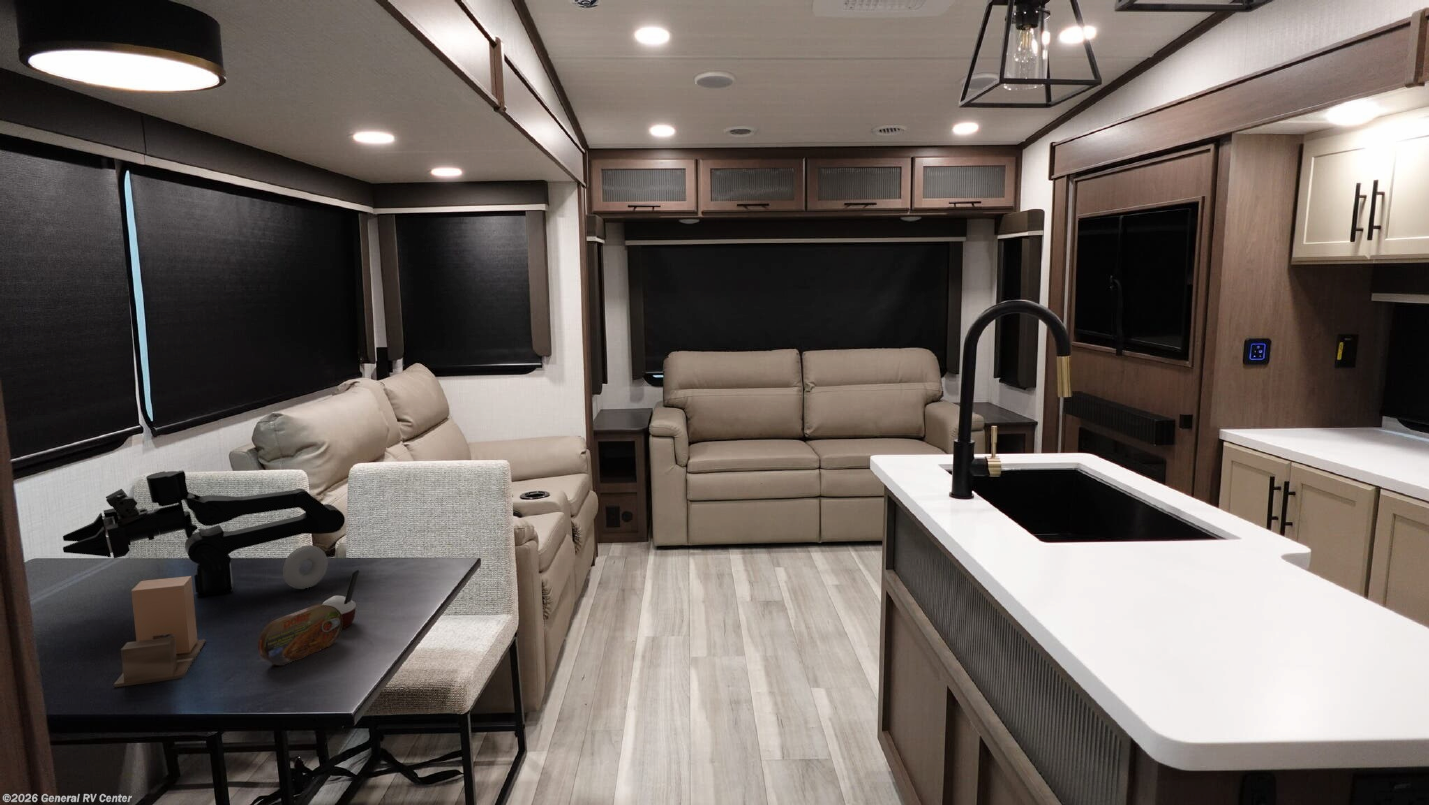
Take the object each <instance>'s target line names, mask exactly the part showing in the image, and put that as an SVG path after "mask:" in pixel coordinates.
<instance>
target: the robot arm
mask: <svg viewBox="0 0 1429 805" xmlns="http://www.w3.org/2000/svg"><path fill="white" fill-rule="evenodd" d="M186 478H187V477H186V473H185V471H184V470H183V469H182V470H177V471H176V470H172V471H165V470H164V471H159V472H158V471H157V472H155V473H152V474H149V475H147V476H146V481H147V483H146V484H147V487H148V491H149V495H150V499H151V503H153V504H158V507H160V508H155V509H151V510H150V509H149V510H148V508H145V507H142V508H138V507H137V505H138V501H137V500H135V498H134V496H129V495H128V494H127V493H126V492H125V490H124V489H123V488H120V489H118V490H116V491H115V492H113V493H111V494H108V495H106V496H105V498H106V500H105V501H106V502H107V504H108V505H109V506H110V507H111V508H109V509H104V510H103V514H102V512H100V513H99V514H98V516H97V517H96V519H94V521H93V522H91V523H89V524H86V525H85V526H83V527H80V528H78V529H76V530H74V531H73V530H72V531H70V532H68V533H66V534H64V535H63V536H62V539H63V542H73V543H70V544H67V545H65V546H62V550H63V553H65V554H74V555H75V554H77V555H78V554H79V555H88V556H89V555H90V556H98V557H105V558H106V557H107V558H111V557H112V556H113V559H118V558H122V557H126V555H128V553H129V552H130V546H131V545H132V543H133V542H138V541H142V540H145V539H147V540H148V541H153V540H155V537H159V536H161V535H162V536H163V535H167V534H171V533H175V532H179V531H184V534H185V537H186V538H187V539H186V540H185V543H184V550H185V552H186V555H187V556H188V558H189V559H190V561H192V562H193V563H195V564H197V566H196V571H195V573H194V575H193V576H194V588H195V593H197V597H198V598H202V597H210V596H215V595H217V596H218V595H222V594H223V595H224V594H229V593H232V592H233V590H234V581H233V573H232V564H231V562H232V557H231V555H230V554H231V553H233V552H236V551H237V550H241V549H245V548H249V547H253V546H256V545H257V546H258V545H261V544H265V543H266V544H267V543H270V542H273V541H274V542H275V541H278V540H282V539H283V540H284V539H286V538H287V539H288V538H291V537H295V536H298V535H304V534H305V535H306V534H308V535H323V534H324V535H326V534H335V533H337V532H339V531H341V529H342V528H343V526H344V525H345V521H346V518H345V515H344V513H343V512H342V511H341V510H339V509H338V508H337V507H336V506H334V505H332V504H329V503H326V504H325V503H322V502H321V501H320V500H318V499H317V498H316V497H314V496H313V495H311V493H309V492H308V491H307V490H306V489H305V488H304V489H303V488H295V489H293V490H285V491H277V492H275V491H274V492H270V493H262V494H261V493H260V494H255V495H254V494H253V495H247V496H246V495H244V496H230V495H221V494H220V495H217V494H216V495H212V494H211V495H210V494H207V495H198V494H196V493H193V492H189V491H188V486H187V482H186ZM183 501H184V502H185V504H186V506H187V507H188V509H189V510H191V512H192V514H193V516H194V517H195V519H196V520H197V522H198V523H200V524H201V525H202V526H205V527H210V526H212V527H210V528H198V526H197V525H196V524H194V523H193V520H192V517H191V512H190V511H187V510H184V505H183ZM296 508H298V509H301V510H303V513H302V514H300V515H298V516H294V517H289V518H285V519H280V520H275V521H271V522H267V523H262V524H258V525H254V526H249V527H244V528H241V529H236V530H223V528H222V527H221V524H223V523H226V522H229V521H232V520H234V519H236V518H239V517H242V516H247V515H248V516H249V515H254V514H261V513H262V514H263V513H269V512H275V511H283V510H290V509H296ZM197 530H198V531H197ZM196 531H197V532H196ZM111 554H112V556H111Z"/></svg>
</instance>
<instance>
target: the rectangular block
mask: <svg viewBox="0 0 1429 805" xmlns="http://www.w3.org/2000/svg"><path fill="white" fill-rule="evenodd" d="M130 592H131V599H132V600H131V602H132V611H133V621H134V631H135V639H136V640H135V641H143V640H151V639H158V638H159V637H160V636H161V635H167V634H172V637H175V647H176V654H181V653H189V652H190V651H191V650H192V648H193V647H194V646H195V644H196V643H197V641H198V640H199V639H198V632H197V620H196V608H195V599H194V588H193V576H192V575H188V576H187V575H186V576H179V577H168V578H157V579H149V580H148V579H147V580H141V581H139V583H138V584H136V585H135V587H133V588H132V589H131V590H130Z"/></svg>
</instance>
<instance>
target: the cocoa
mask: <svg viewBox="0 0 1429 805" xmlns="http://www.w3.org/2000/svg"><path fill="white" fill-rule="evenodd" d="M359 572H360V571H359V569H358V570H355V571H353V572H352V574H351V578H350V581H349V585H348V587H347V591H346V594H345V596H344V595H333V596H332V597H329V598H328V599H326V600H325V601H323V603H322V604H321V605H328V606H333V607H335V608H336V609H338V610H339V611H340V613H341V615H342V618H343V626H342V628H343V629H345V628H344V627H346V628H347V627H349V626H350V625H352V623H353V621H354V620H355V617H356V607H357V604H356V602H355V601H353V600H352V598H353V595H354V594H353V593H354V591H355V587H356V584H357V580H358V576H359Z"/></svg>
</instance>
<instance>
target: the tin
mask: <svg viewBox="0 0 1429 805" xmlns="http://www.w3.org/2000/svg"><path fill="white" fill-rule="evenodd" d="M342 626H343V618H342V615H341V613H340V611H339V610H338V609H336V608H335V607H333V606H328V605H322V604H314V605H312V606H309V607H306V608H303V609H300V610H297V611H295V612H292V613H289V614H287V615H284V616H280V617H279V618H276V619H274V620H272V621H271V622H269V623H268V624H267V625H266V626H265V627H264V628H263V630H262V631H261V633H260V635H259V637H258V651H259V654H260V657H262V659H264V660H265V661H267V662H269V663H271V664H273V665H275V666H286V665H285V664H287V663H289V664H291V663H290V662H291V661H294V662H296V661H295V660H297V659H299V658H301V659H303V657H304V656H306V657H308V656H307V655H309V654H311V655H313V654H315V653H314V652H316V653H317V651H318V652H320V651H319V650H320V649H323V650H325V649H324V648H326V647H328V648H329V647H331V646H333V644H334V643H335V642H336V641H337V640H338V639H339V637H340V635H341V633H342V630H343V629H342ZM326 649H327V648H326ZM312 653H313V654H312ZM309 656H310V655H309ZM304 658H305V657H304ZM299 660H300V659H299ZM297 661H298V660H297ZM287 665H288V664H287Z"/></svg>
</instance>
